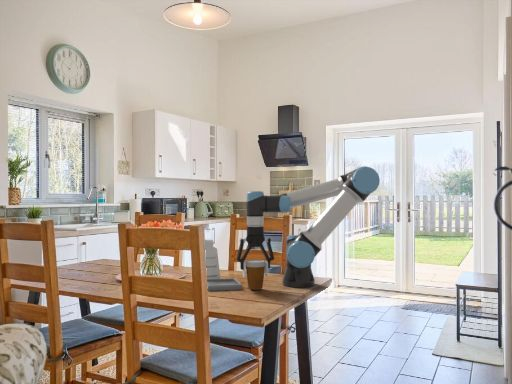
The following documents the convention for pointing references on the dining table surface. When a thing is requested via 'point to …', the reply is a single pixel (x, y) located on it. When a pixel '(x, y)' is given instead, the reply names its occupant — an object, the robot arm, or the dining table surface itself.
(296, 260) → the robot arm
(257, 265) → the disposable coffee cup
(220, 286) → the grey square tray
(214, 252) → the grater
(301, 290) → the dining table surface
